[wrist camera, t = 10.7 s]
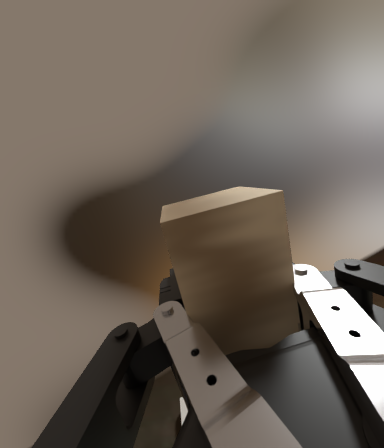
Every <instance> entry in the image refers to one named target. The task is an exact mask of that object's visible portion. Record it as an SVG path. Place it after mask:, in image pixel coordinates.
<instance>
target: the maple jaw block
mask: <svg viewBox="0 0 384 448" xmlns="http://www.w3.org/2000/svg"><path fill="white" fill-rule="evenodd" d="M160 225H161V228H162V231H163V235H164V238H165V242H166V245H167V249H168V252H169V255H170V259H171V262H172V266H173V269H174V273H175V276H176V280H177V283H178V286H179V290H180V293H181V297H182V300H183V304H184V307H185V310H186V314H187V315H189V316H190V318H191V319H192V321H193V322H194V323H195V324H196V323H197V322H199V323H200V324H201V325H202V326H203V328H204V329H205V330H206V332H207V333H208V334H209V335H210V337H211V338H212V339H213V341H214V342H215V343H216V344H217V346H218V347H219V348H220V350H221V351H222V352H223V354H224V355H227V354H230V353H233V352H237V351H240V350H248V349H262V348H270V347H272V346H273V345H275V344H276V343H278V342H280V341H281V340H283V339H284V338H286V337H287V336H289V335H290V334H293V333H296V332H299V330H298V323H300V318H299V310H298V303H297V299H296V297H295V295H294V292H293V285H292V283H295V279H294V272H293V264H292V257H291V248H290V241H289V233H288V225H287V217H286V210H285V202H284V194H283V191H282V190H272V189H261V188H250V187H235V188H231V189H227V190H223V191H220V192H216V193H212V194H208V195H204V196H200V197H196V198H193V199H189V200H185V201H181V202H177V203H174V204H170V205H166V206H163V207H162V214H161V220H160Z"/></svg>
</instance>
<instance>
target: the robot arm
mask: <svg viewBox="0 0 384 448" xmlns="http://www.w3.org/2000/svg"><path fill="white" fill-rule="evenodd" d="M292 264H293V272H294V279H295V283H292V285H293V292H294V295H295V297H296V299H297V303H298V310H299V318H300V323H298V330H299V332H296V333H293V334H290V335H289V336H287V337H286V338H284V339H283V340H281V341H280V342H278V343H276V344H275V345H273V346H272V347H270V348H262V349H248V350H240V351H237V352H233V353H230V354H227V355H224V354H223V352H222V351H221V350H220V348H219V347H218V346H217V344H216V343H215V342H214V341H213V339H212V338H211V337H210V335H209V334H208V333H207V332H206V330H205V329H204V328H203V326H202V325H201V324H200V323H199V322H197V323H196V324H195V323H194V322H193V321H192V319H191V318H190V316H189V315H187V314H186V310H185V307H184V304H183V300H182V297H181V293H180V290H179V286H178V283H177V280H176V276H175V273H174V269H173V268H172V269H170V277H168V278H165V279H163V281H162V282H161V284H160V296H159V306H158V307H157V308H156V309H155V311H154V313H153V317H154V318H153V319H152V320H151V321H150V322H148V323H146V324H145V325H143V326H141V327H139V328H138V327H137V325H136V324H135V323H132V322H128V323H124V324H121V325H120V326H118V327H116V328H115V329H114V330H112V331H111V332H110V334H109V335H108V336H107V338H106V339H105V340H104V342H103V343H102V345H101V346H100V348H99V350H98V351H97V352H96V354H95V355H94V357H93V358H92V360H91V361H90V363H89V364H88V365H87V367H86V369H85V370H84V371H83V373H82V374H81V376H80V377H79V379H78V380H77V382H76V383H75V385H74V386H73V388H72V389H71V391H70V392H69V393H68V395H67V396H66V398H65V399H64V401H63V402H62V404H61V405H60V407H59V408H58V410H57V411H56V413H55V414H54V416H53V417H52V418H51V420H50V421H49V423H48V424H47V426H46V427H45V429H44V430H43V432H42V433H41V435H40V436H39V438H38V439H37V441H36V442H35V443H34V445H33V446H32V448H133V446H134V443H135V440H136V437H137V433H138V430H139V427H140V424H141V421H142V418H143V415H144V412H145V408H146V405H147V402H148V399H149V396H150V393H151V390H152V387H153V383H154V380H155V376H156V375H157V374H159V373H160V372H162V371H163V370H165V369H166V368H168V367H169V366H170V367H171V369H172V371H173V374H174V376H175V379H176V381H177V384H178V386H179V389H180V391H181V394H182V396H183V399H184V402H185V404H186V407H187V410H188V413H187V415H186V417H185V420H184V422H183V424H182V427H181V429H180V431H179V433H178V436H177V438H176V440H175V443H174V445H173V447H172V448H384V309H383V308H381V307H378V306H376V305H373V295H372V292H374V293H376V294H379V295H382V296H384V266H380V265H377V264H373V263H369V262H365V261H361V260H356V259H343V260H339V261H336V262H335V264H334V270H333V271H323V272H318V270H317V269H316V268H315V267H313V266H310V265H306V264H294V263H293V262H292Z"/></svg>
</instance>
